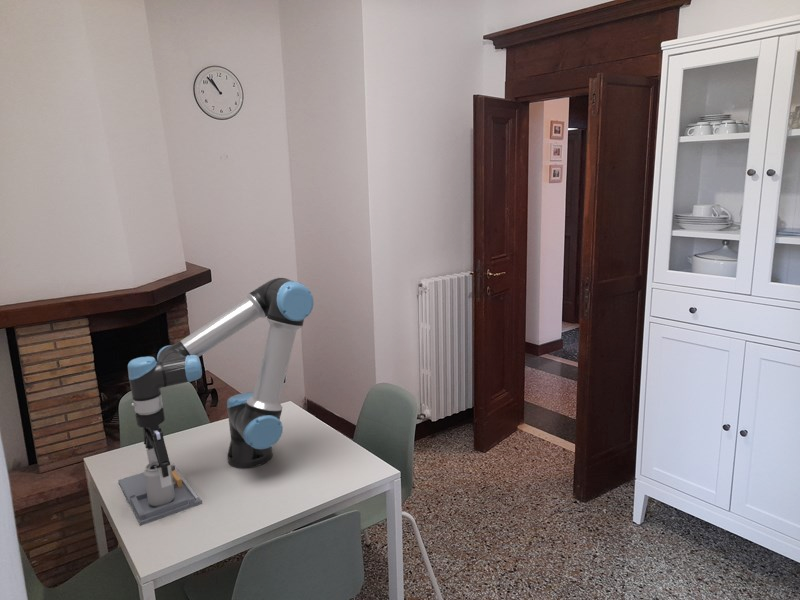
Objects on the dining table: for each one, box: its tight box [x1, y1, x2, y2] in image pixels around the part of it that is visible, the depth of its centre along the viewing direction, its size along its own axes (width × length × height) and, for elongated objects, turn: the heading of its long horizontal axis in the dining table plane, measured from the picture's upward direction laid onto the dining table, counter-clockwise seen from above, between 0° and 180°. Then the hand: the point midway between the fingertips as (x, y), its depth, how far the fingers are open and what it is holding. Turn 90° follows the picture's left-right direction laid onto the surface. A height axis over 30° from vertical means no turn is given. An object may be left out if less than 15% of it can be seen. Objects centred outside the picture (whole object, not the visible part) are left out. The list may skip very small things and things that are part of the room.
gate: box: [170, 464, 182, 487], centre depth 185 cm, size 17×2×3 cm, turn 36°
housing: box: [118, 461, 203, 527], centre depth 177 cm, size 30×17×2 cm, turn 36°
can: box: [143, 461, 175, 507], centre depth 169 cm, size 8×8×12 cm
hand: (160, 476), depth 169 cm, fingers open, 13 cm apart
